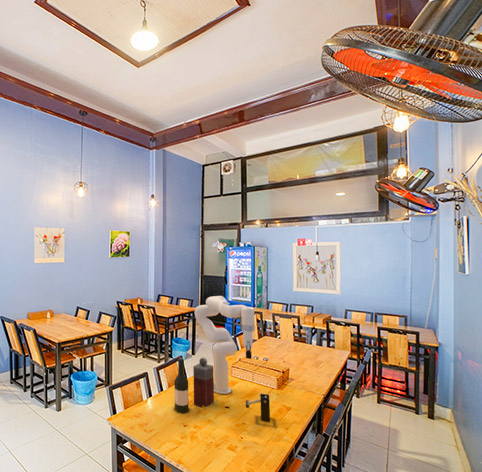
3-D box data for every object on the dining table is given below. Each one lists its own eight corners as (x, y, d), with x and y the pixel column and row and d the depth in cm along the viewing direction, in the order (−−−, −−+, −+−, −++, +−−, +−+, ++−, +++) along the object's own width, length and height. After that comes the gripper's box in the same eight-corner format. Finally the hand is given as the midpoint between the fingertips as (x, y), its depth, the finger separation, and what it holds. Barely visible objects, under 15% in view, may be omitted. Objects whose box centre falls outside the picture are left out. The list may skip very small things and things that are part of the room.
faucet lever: (246, 409, 172) (244, 404, 173) (246, 404, 178) (245, 399, 179) (268, 403, 169) (266, 398, 169) (268, 398, 174) (266, 394, 175)
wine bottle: (173, 406, 189) (172, 356, 190) (186, 405, 190) (185, 355, 191) (176, 413, 181) (175, 360, 182) (190, 412, 181) (189, 360, 183)
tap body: (256, 423, 169) (256, 397, 170) (256, 416, 177) (255, 391, 178) (274, 426, 166) (274, 400, 167) (273, 419, 174) (273, 394, 174)
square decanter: (216, 402, 193) (215, 357, 194) (206, 409, 185) (205, 361, 186) (203, 398, 199) (202, 353, 201) (193, 404, 191) (193, 358, 193)
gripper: (241, 324, 198) (242, 353, 197) (241, 330, 184) (241, 361, 183) (254, 325, 196) (255, 355, 195) (254, 331, 182) (255, 363, 181)
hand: (248, 358), depth 189 cm, fingers closed
